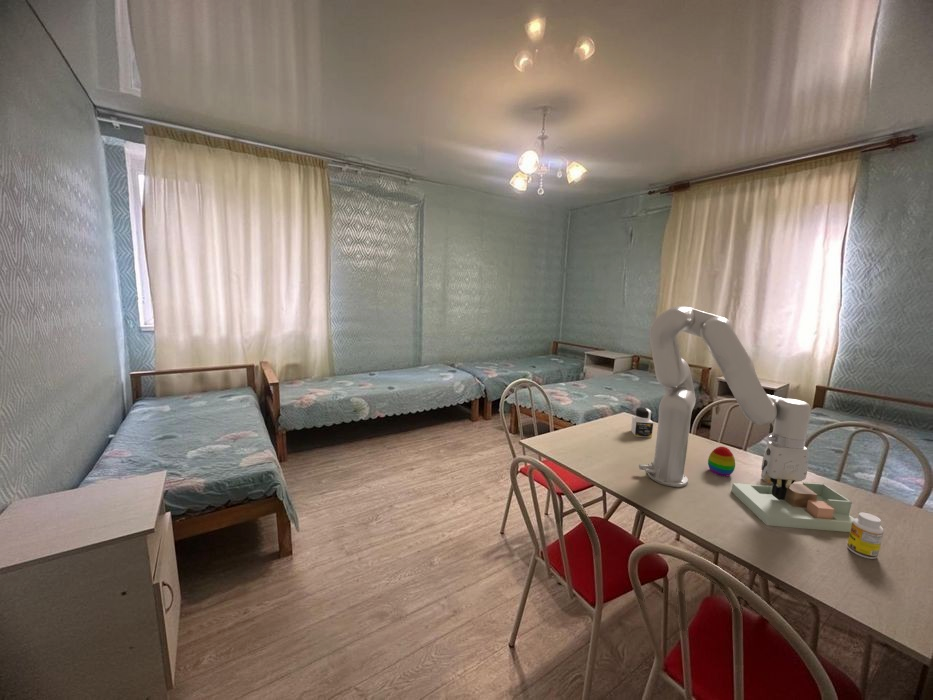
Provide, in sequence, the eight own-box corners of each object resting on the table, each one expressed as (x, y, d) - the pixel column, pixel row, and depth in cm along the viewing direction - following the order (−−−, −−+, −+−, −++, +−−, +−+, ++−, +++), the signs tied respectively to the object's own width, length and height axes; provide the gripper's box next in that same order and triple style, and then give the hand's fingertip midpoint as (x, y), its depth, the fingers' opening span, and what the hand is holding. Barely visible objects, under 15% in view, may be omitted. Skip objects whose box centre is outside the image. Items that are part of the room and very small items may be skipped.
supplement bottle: (845, 542, 103) (853, 507, 101) (875, 551, 100) (883, 516, 98) (847, 553, 99) (855, 517, 97) (878, 563, 95) (887, 526, 94)
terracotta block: (814, 527, 109) (818, 508, 108) (804, 518, 113) (808, 500, 112) (830, 528, 109) (834, 509, 108) (819, 519, 113) (823, 501, 112)
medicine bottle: (634, 436, 171) (637, 410, 169) (630, 430, 178) (633, 405, 175) (651, 437, 170) (654, 412, 167) (647, 431, 176) (649, 406, 174)
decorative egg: (738, 479, 135) (743, 452, 134) (715, 478, 136) (719, 451, 134) (724, 467, 143) (728, 442, 142) (702, 466, 144) (705, 441, 142)
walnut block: (792, 506, 114) (795, 493, 113) (778, 495, 120) (781, 482, 119) (814, 508, 113) (817, 494, 112) (799, 497, 119) (802, 484, 118)
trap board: (766, 525, 110) (770, 503, 108) (731, 491, 127) (734, 471, 126) (859, 532, 107) (864, 510, 106) (809, 497, 125) (813, 477, 123)
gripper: (768, 444, 111) (759, 502, 114) (825, 447, 109) (814, 506, 112) (752, 434, 118) (744, 489, 121) (806, 437, 116) (795, 492, 119)
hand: (778, 497), depth 117 cm, fingers closed
